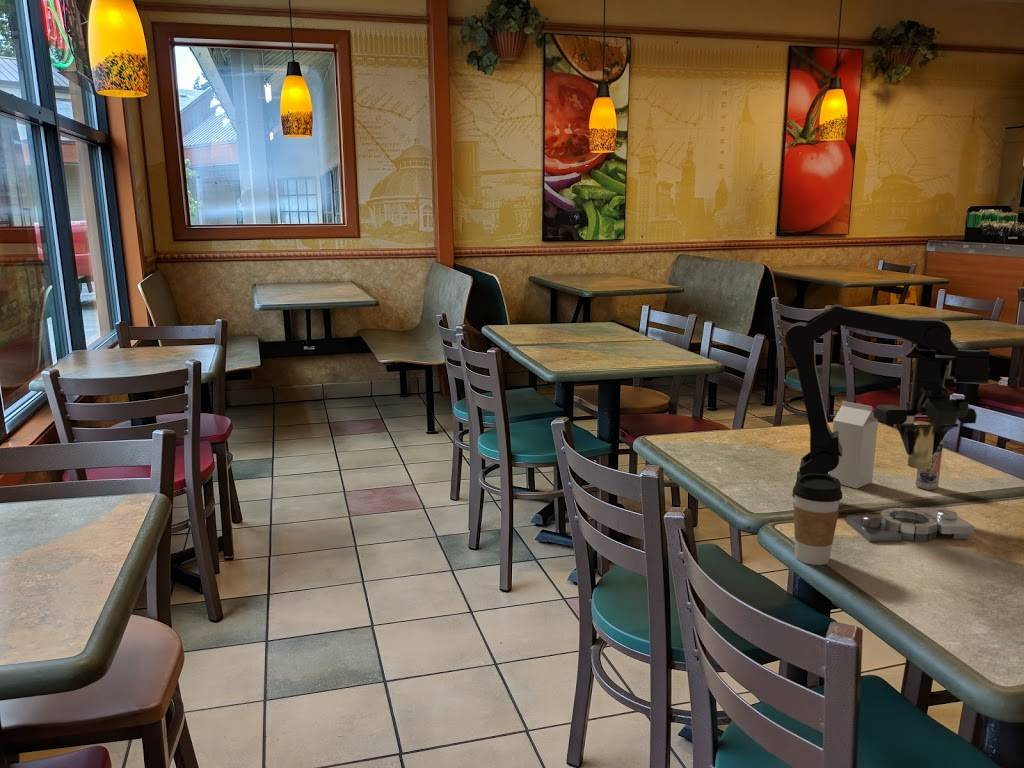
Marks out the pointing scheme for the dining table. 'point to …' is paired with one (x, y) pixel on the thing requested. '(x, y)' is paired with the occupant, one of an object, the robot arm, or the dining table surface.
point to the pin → (922, 446)
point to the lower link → (885, 529)
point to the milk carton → (855, 444)
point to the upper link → (928, 522)
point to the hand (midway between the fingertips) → (920, 454)
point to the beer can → (930, 472)
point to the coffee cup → (815, 517)
